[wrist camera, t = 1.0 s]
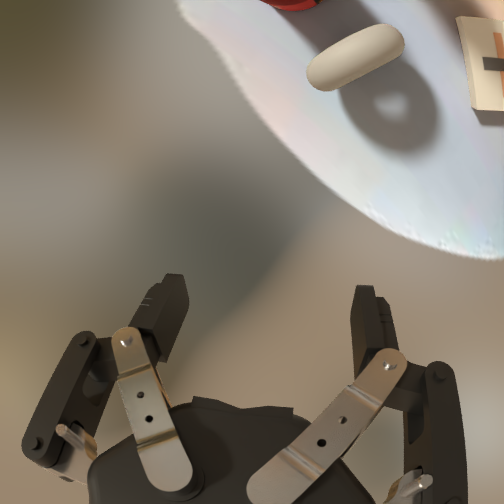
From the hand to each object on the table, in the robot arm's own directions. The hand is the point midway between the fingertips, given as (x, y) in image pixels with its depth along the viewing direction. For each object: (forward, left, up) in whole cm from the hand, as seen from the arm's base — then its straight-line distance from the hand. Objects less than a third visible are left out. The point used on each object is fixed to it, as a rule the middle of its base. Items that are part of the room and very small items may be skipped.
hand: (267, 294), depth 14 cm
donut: (-9, +5, -25) cm, 27 cm away
